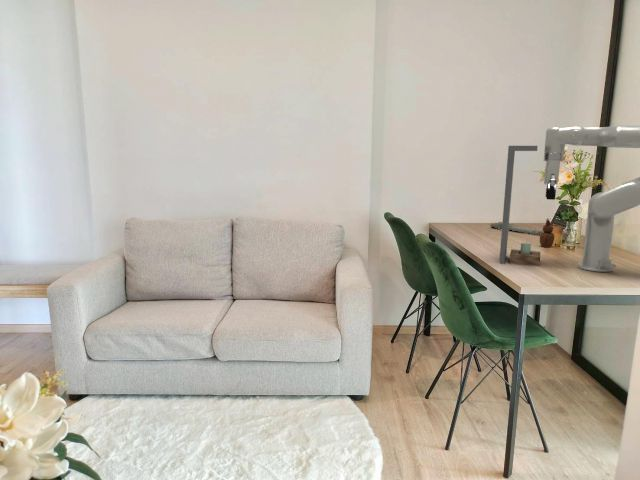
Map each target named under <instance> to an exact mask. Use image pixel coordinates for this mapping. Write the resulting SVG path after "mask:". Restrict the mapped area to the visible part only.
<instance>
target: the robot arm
mask: <svg viewBox="0 0 640 480" xmlns="http://www.w3.org/2000/svg"><path fill="white" fill-rule="evenodd" d="M544 141H545V142H544V153H543V162H545V167H544V179H543V185H546V188H545V198H546V200H550V201H551V200H552V201H553V200H556V195H557V194H556V193H557V190H556V187H557V185H558V182H559V177H560V169H561V162H565V161H564V157H565V146H566V145H571V146H579V147H580V146H582V147H585V146H586V147H588V146H589V147H605V148H606V147H607V148H619V149H620V148H621V149H623V148H625V149H628V148H629V149H640V125H624V124H623V125H620V124H619V125H610V126H604V127H584V126H580V125H576V126H574V125H573V126H567V127H561V126H559V127H557V126H555V127H553V126H551V127H548V128H547V129H546V131H545V140H544ZM638 206H640V176H639V177H636V178H634V179H630V180H627V181H625V182H623V183H621V185H619V186H617V187H614V188H612V189H609V190H607V191H605V192H604V191H602V192H597V193H595V194H594V195H592V196H591V197H590V199H589V200H588V206H587V216H586V224H585V225H586V226H585V235H584V244H583V251H582V252H583V253H582V262H578V264H577V267H578V268H579V269H581V270H584V271H589V272H598V273H607V272H608V273H609V272H612V271H613V270H614V268H617V267H616V264H614V263H612V260H611V259H610V257H611V246H612V238H613V231H614V224H615V222H614V221H615V216H616V215H618V214H621V213H623V212H627V211H628V210H631V209H634V208H635V207H638Z"/></svg>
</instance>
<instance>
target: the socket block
mask: <svg viewBox="0 0 640 480" xmlns="http://www.w3.org/2000/svg"><path fill="white" fill-rule="evenodd" d="M520 251H521V249H515V248H514V249H512V248H511V249H510V253H509V262H508V263H509V264H514V265H525V266H534V267H540V266H541V251H536V250H535V251H534V250H530V254H520Z"/></svg>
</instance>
